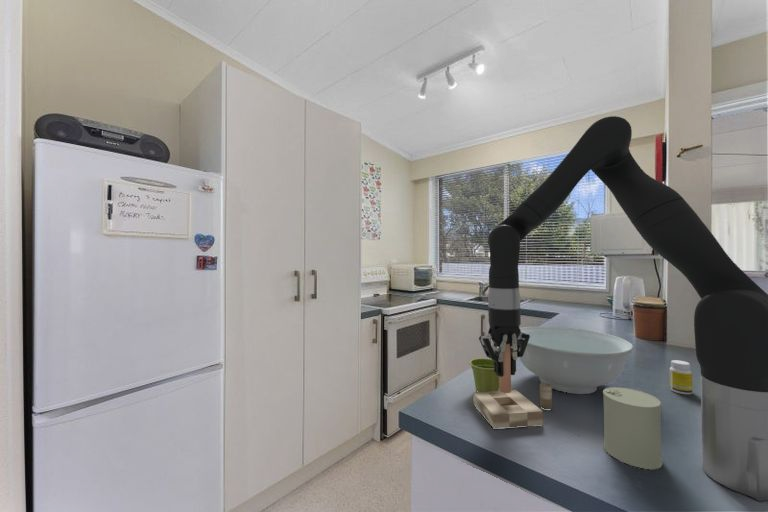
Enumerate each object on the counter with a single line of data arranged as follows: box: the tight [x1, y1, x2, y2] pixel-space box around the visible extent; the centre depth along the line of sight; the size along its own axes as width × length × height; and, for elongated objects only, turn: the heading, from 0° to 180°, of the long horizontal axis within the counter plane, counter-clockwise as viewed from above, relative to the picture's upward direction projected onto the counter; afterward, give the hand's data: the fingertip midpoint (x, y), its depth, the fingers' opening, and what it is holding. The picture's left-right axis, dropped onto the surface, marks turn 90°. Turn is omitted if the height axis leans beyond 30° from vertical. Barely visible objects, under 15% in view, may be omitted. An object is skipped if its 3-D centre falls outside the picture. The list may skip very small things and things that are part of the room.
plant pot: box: [469, 357, 499, 392], centre depth 92 cm, size 9×9×9 cm
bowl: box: [516, 326, 634, 395], centre depth 98 cm, size 32×32×15 cm
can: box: [602, 386, 664, 470], centre depth 63 cm, size 9×9×12 cm
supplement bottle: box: [669, 359, 693, 395], centre depth 91 cm, size 5×5×8 cm
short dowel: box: [539, 382, 553, 410], centre depth 82 cm, size 3×3×6 cm
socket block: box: [472, 389, 544, 428], centre depth 79 cm, size 12×12×4 cm
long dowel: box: [498, 344, 512, 393], centre depth 79 cm, size 3×3×12 cm
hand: (505, 374), depth 79 cm, fingers closed on long dowel, 2 cm apart
